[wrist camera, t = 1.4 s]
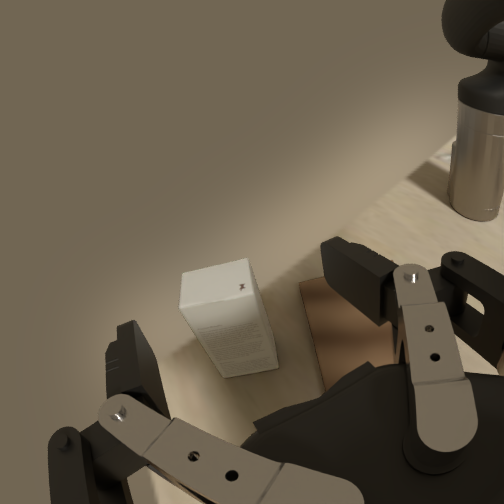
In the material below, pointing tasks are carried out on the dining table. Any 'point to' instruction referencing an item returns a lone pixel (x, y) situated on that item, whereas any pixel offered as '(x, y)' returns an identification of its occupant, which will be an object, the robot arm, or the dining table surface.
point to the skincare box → (229, 318)
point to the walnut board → (342, 333)
